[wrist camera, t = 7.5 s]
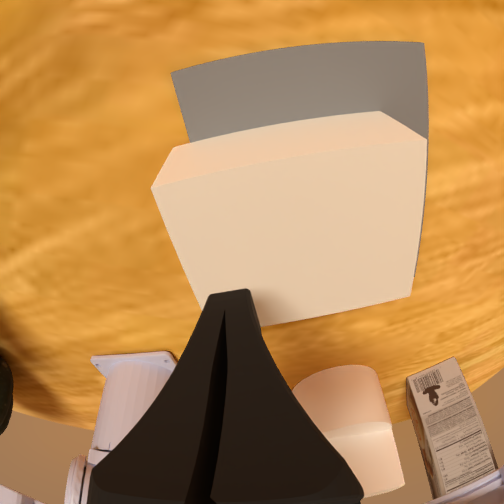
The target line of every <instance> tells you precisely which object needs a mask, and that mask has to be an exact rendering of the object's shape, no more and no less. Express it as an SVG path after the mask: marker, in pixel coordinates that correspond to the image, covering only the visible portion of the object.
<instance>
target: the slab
mask: <svg viewBox="0 0 504 504" xmlns="http://www.w3.org/2000/svg"><path fill="white" fill-rule="evenodd" d="M426 158H427V139H425V138H424V137H422V136H420V135H419V134H417V133H416V132H414V131H413V130H411V129H409V128H408V127H406V126H405V125H403V124H401V123H400V122H398V121H396V120H395V119H393V118H391V117H390V116H388V115H386V114H384V113H383V112H381V111H373V112H363V113H353V114H344V115H335V116H327V117H320V118H313V119H306V120H299V121H293V122H287V123H281V124H275V125H270V126H264V127H259V128H254V129H249V130H244V131H239V132H234V133H230V134H225V135H221V136H216V137H212V138H208V139H204V140H200V141H196V142H192V143H188V144H184V145H180V146H176V147H173V149H172V151H171V152H170V154H169V156H168V158H167V159H166V161H165V163H164V165H163V167H162V168H161V170H160V172H159V174H158V176H157V177H156V179H155V181H154V183H153V185H152V187H151V190H152V193H153V195H154V198H155V200H156V203H157V206H158V208H159V211H160V213H161V216H162V218H163V221H164V223H165V226H166V228H167V231H168V233H169V236H170V238H171V240H172V243H173V245H174V248H175V250H176V252H177V255H178V257H179V260H180V262H181V264H182V267H183V269H184V271H185V274H186V276H187V278H188V280H189V283H190V285H191V287H192V289H193V292H194V294H195V296H196V298H197V301H198V303H199V305H200V307H201V309H202V310H203V308H204V306H205V303H206V300H207V298H208V296H209V295H210V294H214V293H220V292H226V291H232V290H238V289H244V288H247V289H249V290H250V291H251V295H252V298H253V302H254V305H255V309H256V312H257V316H258V319H259V323H260V327H263V326H269V325H275V324H280V323H286V322H292V321H297V320H303V319H308V318H313V317H318V316H324V315H329V314H333V313H338V312H343V311H348V310H353V309H357V308H362V307H366V306H371V305H375V304H379V303H384V302H388V301H392V300H396V299H400V298H404V297H408V296H410V294H411V289H412V283H413V278H414V272H415V266H416V260H417V254H418V247H419V239H420V232H421V223H422V214H423V204H424V192H425V178H426Z"/></svg>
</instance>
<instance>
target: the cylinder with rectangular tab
mask: <svg viewBox="0 0 504 504" xmlns="http://www.w3.org/2000/svg"><path fill="white" fill-rule="evenodd" d="M292 393H293V394H294V396H295V397H296V399H297V400H298V402H299V403H300V404H301V406H302V407H303V409H304V410H305V411H306V413H307V414H308V416H309V417H310V418H311V420H312V421H313V422H314V424H315V425H316V426H317V428H318V429H319V430H320V431H321V433H322V434H323V435H324V436H325V437H326V439H327V440H328V441H329V442H330V443H331V444H332V446H333V447H334V448H335V449H336V450H337V451H338V452H339V453H340V455H341V456H342V457H343V458H344V459H345V460H346V462H347V464H348V465H349V467H350V468H351V470H352V471H353V473H354V474H355V476H356V478H357V479H358V481H359V482H360V484H361V486H362V488H363V491H364V497H363V498H366V497H370V496H374V495H378V494H382V493H386V492H390V491H392V490H395V489H397V488H399V487H401V486H403V485H405V482H404V477H403V473H402V469H401V464H400V460H399V456H398V452H397V449H396V444H395V440H394V436H393V433H392V424H391V420H390V416H389V413H388V409H387V406H386V402H385V399H384V396H383V392H382V389H381V385H380V382H379V379H378V376H377V373H376V372H375V370H373V369H372V368H370V367H367V366H363V365H344V366H337V367H333V368H329V369H325V370H322V371H320V372H317V373H314V374H312V375H310V376H308V377H307V378H305V379H303V380H302V381H300V382H299V383H298V384H297V385H296V386H295V387H294V389H293V390H292Z"/></svg>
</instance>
